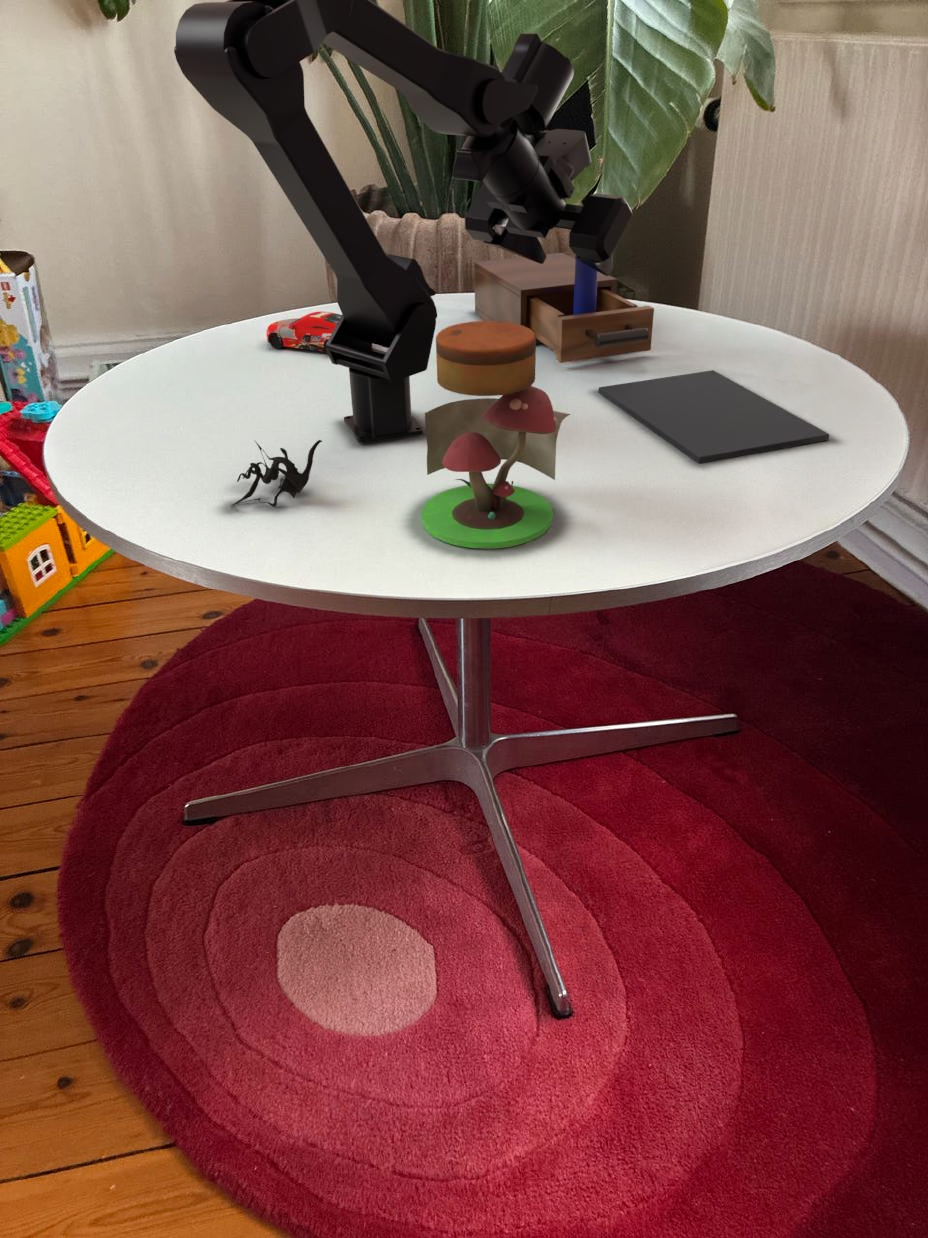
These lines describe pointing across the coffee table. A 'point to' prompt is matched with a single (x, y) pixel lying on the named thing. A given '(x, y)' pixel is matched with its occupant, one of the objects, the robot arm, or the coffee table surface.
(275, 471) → the creature
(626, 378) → the coffee table surface
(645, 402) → the desk mat
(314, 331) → the race car
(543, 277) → the cabinet
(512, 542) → the mushroom figurine
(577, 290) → the marker
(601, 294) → the drawer
